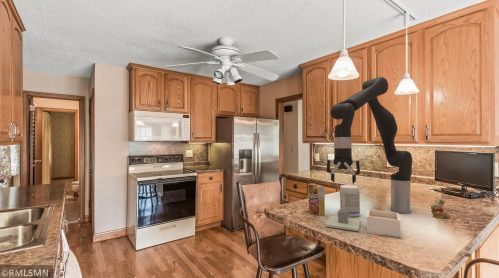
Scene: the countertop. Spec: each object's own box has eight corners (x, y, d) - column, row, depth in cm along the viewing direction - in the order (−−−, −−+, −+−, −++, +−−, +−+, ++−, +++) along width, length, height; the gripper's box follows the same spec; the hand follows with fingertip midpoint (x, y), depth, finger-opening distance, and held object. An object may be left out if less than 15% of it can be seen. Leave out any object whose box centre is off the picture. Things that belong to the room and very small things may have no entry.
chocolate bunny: (430, 214, 129) (430, 195, 129) (449, 217, 125) (449, 197, 125) (431, 217, 124) (431, 197, 124) (451, 220, 120) (451, 199, 120)
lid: (330, 219, 122) (330, 205, 122) (360, 223, 116) (360, 209, 116) (325, 228, 110) (325, 212, 110) (358, 233, 104) (358, 217, 104)
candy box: (307, 211, 134) (307, 183, 135) (314, 210, 136) (314, 183, 136) (318, 216, 126) (318, 186, 126) (325, 215, 128) (325, 185, 128)
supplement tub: (363, 215, 128) (363, 186, 128) (352, 218, 122) (352, 188, 122) (347, 210, 136) (347, 184, 136) (336, 213, 130) (336, 186, 131)
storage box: (367, 224, 113) (367, 209, 113) (398, 228, 108) (398, 212, 108) (366, 233, 103) (366, 216, 103) (400, 238, 97) (400, 220, 97)
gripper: (360, 147, 113) (360, 182, 113) (328, 146, 119) (328, 180, 119) (359, 147, 106) (359, 185, 106) (325, 147, 113) (325, 182, 113)
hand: (343, 182), depth 113 cm, fingers open, 8 cm apart
